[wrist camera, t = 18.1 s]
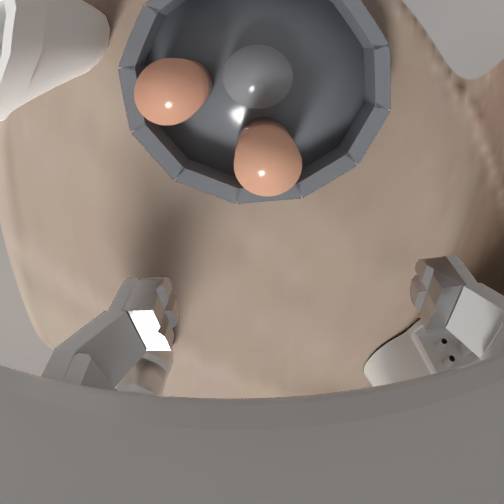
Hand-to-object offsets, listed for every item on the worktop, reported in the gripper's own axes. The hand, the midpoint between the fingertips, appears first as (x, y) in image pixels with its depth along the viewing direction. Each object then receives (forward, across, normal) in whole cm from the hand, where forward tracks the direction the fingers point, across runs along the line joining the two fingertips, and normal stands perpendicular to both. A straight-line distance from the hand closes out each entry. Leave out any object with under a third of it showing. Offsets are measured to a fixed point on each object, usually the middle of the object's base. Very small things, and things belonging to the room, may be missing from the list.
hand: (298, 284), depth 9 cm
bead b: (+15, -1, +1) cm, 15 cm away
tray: (+15, -1, +6) cm, 17 cm away
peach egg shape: (+14, -6, +6) cm, 17 cm away
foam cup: (+15, -14, +12) cm, 24 cm away
